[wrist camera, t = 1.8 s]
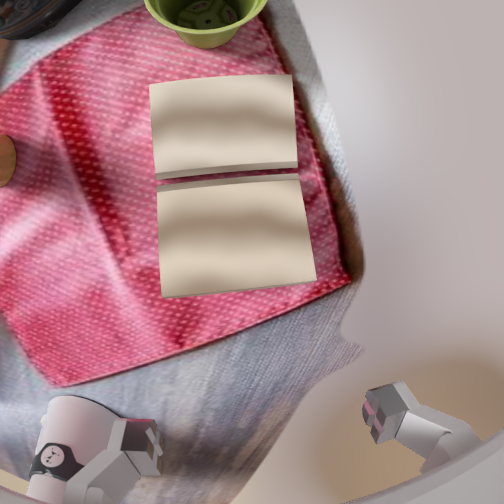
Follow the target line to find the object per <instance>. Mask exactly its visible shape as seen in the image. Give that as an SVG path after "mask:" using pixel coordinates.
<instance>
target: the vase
mask: <svg viewBox="0 0 504 504" xmlns="http://www.w3.org/2000/svg"><path fill="white" fill-rule="evenodd" d="M15 166H16V151H15V147H14V144H13V142H12V141H11V139H10V138H9V137H7V136H5V135H0V187H2V186H4V185H5V184H7V183H8V181H9V180H10V179H11V177H12V175H13V173H14V170H15Z"/></svg>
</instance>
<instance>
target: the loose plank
mask: <svg viewBox="0 0 504 504" xmlns="http://www.w3.org/2000/svg"><path fill="white" fill-rule="evenodd" d="M157 220H158V245H159V264H160V279H161V292H162V297H163V298H165V299H169V298H180V297H190V296H201V295H210V294H220V293H230V292H239V291H248V290H256V289H265V288H273V287H282V286H290V285H298V284H305V283H312V282H314V281H316V280H317V278H316V272H315V265H314V259H313V253H312V247H311V241H310V235H309V229H308V224H307V218H306V213H305V207H304V202H303V197H302V191H301V186H300V181H299V175H298V173H295V174H277V175H261V176H247V177H235V178H223V179H213V180H203V181H193V182H184V183H176V184H167V185H160V186H157Z"/></svg>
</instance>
